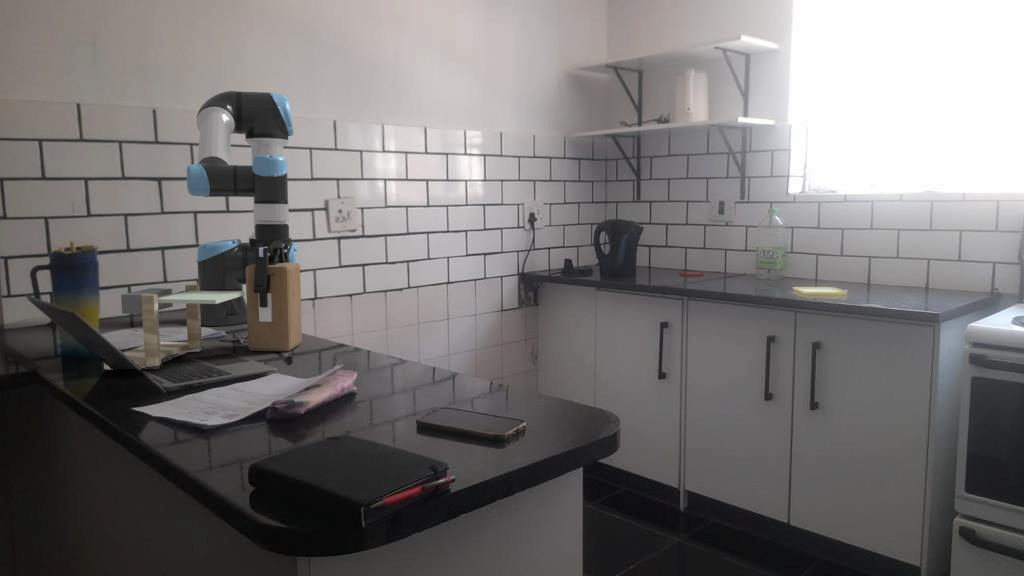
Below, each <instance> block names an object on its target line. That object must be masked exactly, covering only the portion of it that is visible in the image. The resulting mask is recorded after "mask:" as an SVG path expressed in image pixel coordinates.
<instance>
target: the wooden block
mask: <svg viewBox="0 0 1024 576" xmlns="http://www.w3.org/2000/svg"><path fill="white" fill-rule="evenodd" d="M255 265H256V264H252V265H249V266H247V267H246V284H245V297H246V304H247V322H246V323H247V344H248V346H247V347H248V350H249V351H251V352H278V353H279V352H281V353H283V352H284V353H285V352H287V353H288V352H290V351H292V350H293V349H295V348H296V347H298V346H300V345H301V344H302V341H303V335H302V333H303V332H302V331H303V330H302V329H303V327H302V297H301V295H302V294H301V265H300V264H299V263H298V262H297V261H296V262H285V263H277V264H276V265H268V273H267V275H269V274H270V290H269V293H271V300H272V321H271V322H264V321H259V298H258V293H254V289H253V288H254V277H255Z"/></svg>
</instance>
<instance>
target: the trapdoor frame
mask: <svg viewBox="0 0 1024 576" xmlns="http://www.w3.org/2000/svg"><path fill="white" fill-rule="evenodd" d="M184 288H185V289H184V291H185V290H190V291H199V285H198V284H190V283H189V284H188V283H187V284H186V285H184ZM141 298H142V314H141V315H142V330H143V331H142V332H143V334H142V335H143V345H141V346H139V347H137V348H133V349H131V350H127V351H125V352H123V353H124V354H125V355H126V356H128V357H129V358H130V359H131V360H133V361H134V362H135V363H136V364H138V365H139V366H140V367H141V368H145V367H152V366H159V365H160V364H161V359H162V358H164V357H166V356H169V355H172V354H176V353H180V352H184V351H187V350H193V349H199V348H202V349H203V343H202V341H203V339H202V327H201V326H202V325H201V316H200V304H194V303H185V309H186V310H185V312H186V329H187V330H186V331H187V342H178V341H175V342H173V341H172V342H171V341H160V337H161V336H160V321H159V319H160V318H159V310H158V297H157V294H144V295H141ZM161 365H162V364H161ZM103 369H104V370H112V369H111V368H110V367H109V366H108V365H106V364H105V363H104V362H103Z"/></svg>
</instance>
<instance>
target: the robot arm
mask: <svg viewBox="0 0 1024 576" xmlns="http://www.w3.org/2000/svg"><path fill="white" fill-rule="evenodd" d="M292 117H293V116H292V111H291V107H290V102H289V100H288V97H287V96H286V95H284V94H281V93H276V92H264V91H263V92H262V91H260V92H259V91H236V90H229V91H223V92H218V93H217V94H215V95H213V96H212V97H210V98H208V99H207V100H206V101H205V102H204V103H203V104H202V105H201V106H200V108H199V110H198V112H197V115H196V127H197V130H198V131H199V140H198V150H197V151H198V152H197V163H193V164H191V163H190V164H189V165H188V166H187V167H186V187H187V192H188V194H189V195H190V196H192V197H203V198H210V197H211V198H212V197H213V198H214V197H215V198H219V197H220V198H223V197H224V198H225V197H226V198H230V197H231V198H232V197H233V198H234V197H235V198H237V197H238V198H252V202H253V205H252V206H253V208H252V212H253V229H254V230H253V233H251V234H250V236H249V237H248V243H242V241H241V239H240V238H235V239H234V238H233V239H223V240H216V241H210V242H205V243H202V244H200V245H198V247H197V250H196V252H197V254H196V255H197V256H196V257H197V258H196V263H197V277H198V281H197V283H198V284H197V285H199V291H242V292H244V291H243V285H245V286H246V267H247V266H249V265H252V264H256V265H255V277H254V288H253V289H254V293H258V298H259V321H264V322H271V321H272V300H271V293H269V290H270V274H269V275H267V273H268V265H276V264H277V263H285V262H296V263H297V250H298V249H297V248H298V246H297V243H296V242H292V236H291V235H290V226H289V224H288V223H287V222H288V221H290V215H289V209H290V208H289V201H288V200H289V198H288V196H289V194H288V193H289V192H288V191H289V190H288V189H289V188H288V187H289V186H288V183H289V181H288V173H289V169H288V163H287V158H286V157H285V156H284V147H285V146H286V145H287V144H288V143H289V137H292V136H294V126H293V118H292ZM232 134H235V135H236V134H237V135H244V136H245V138H244V140H245V142H246V143H247V144H248V145H249V146H250V148H251V165H244V164H243V165H238V164H236V165H235V164H231V158H232V157H231V154H232V153H231V151H232V150H231V147H232V144H231V142H232V141H231V140H232V139H231V138H232V137H231V136H232ZM244 296H245V295H244ZM244 296H240V297H237V298H234V299H230V300H227V301H224V302H220V303H217V304H200V316H201V326H202V325H203V326H206V327H207V326H208V327H219V326H223V327H225V326H233V325H241V324H246V323H247V300H246V298H245V297H244ZM203 326H202V327H203Z"/></svg>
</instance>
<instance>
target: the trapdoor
mask: <svg viewBox="0 0 1024 576" xmlns="http://www.w3.org/2000/svg"><path fill="white" fill-rule="evenodd" d="M144 294H157V297H158V311H160V310H162V311H163V310H164V309H169V308H171V307H172V308H173V307H174V304H186V303H194V304H217V303H220V302H224V301H227V300H230V299H234V298H237V297H240V296H246V291H243V292H242V291H190V290H185V289H184V290H182V291H178V292H174V293H173V288H160V287H159V288H157V287H155V288H154V287H153V288H152V287H150V288H145V289H140V290H137V291H132V292H126V293H122V294H120V298H121V299H120V300H121V313H122V314H125V315H126V314H127V315H129V314H131V315H133V314H135V315H142V298H141V295H144Z"/></svg>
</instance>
